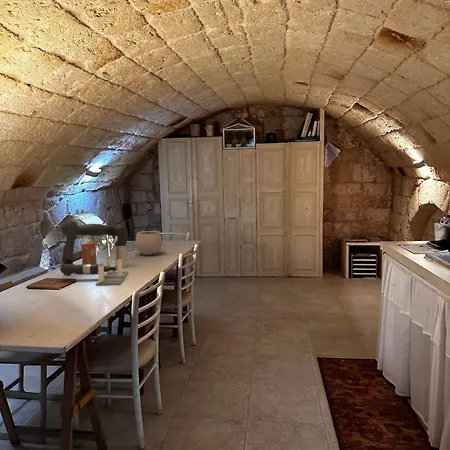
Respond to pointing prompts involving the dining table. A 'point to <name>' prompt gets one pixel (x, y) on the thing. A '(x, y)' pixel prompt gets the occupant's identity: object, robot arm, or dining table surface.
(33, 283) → the dining table surface
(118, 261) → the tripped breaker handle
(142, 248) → the plant pot
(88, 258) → the orange carton box
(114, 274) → the base
